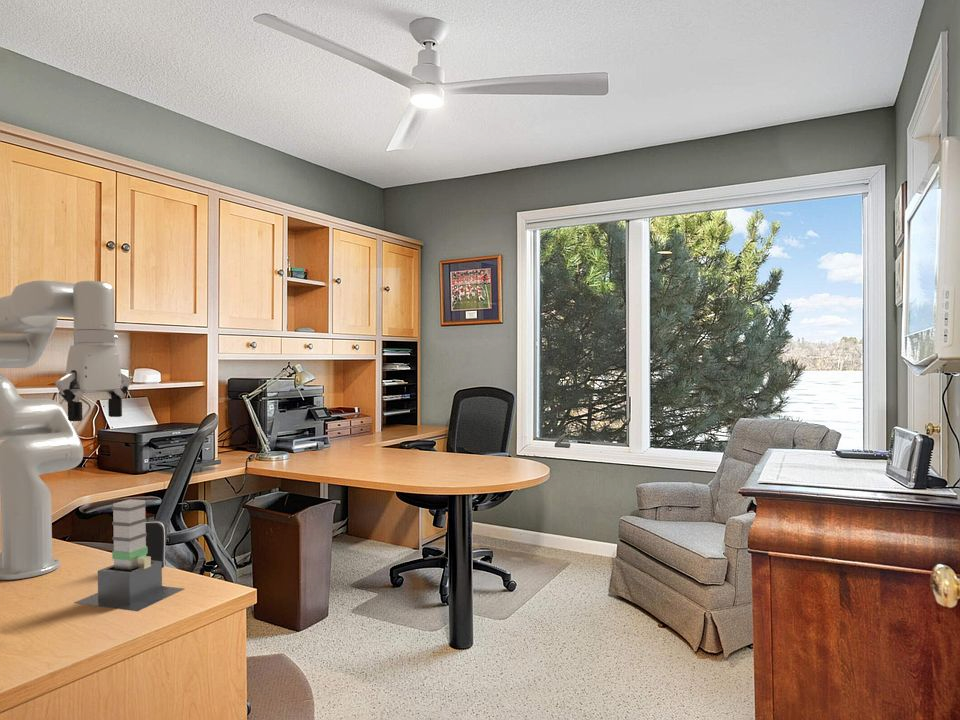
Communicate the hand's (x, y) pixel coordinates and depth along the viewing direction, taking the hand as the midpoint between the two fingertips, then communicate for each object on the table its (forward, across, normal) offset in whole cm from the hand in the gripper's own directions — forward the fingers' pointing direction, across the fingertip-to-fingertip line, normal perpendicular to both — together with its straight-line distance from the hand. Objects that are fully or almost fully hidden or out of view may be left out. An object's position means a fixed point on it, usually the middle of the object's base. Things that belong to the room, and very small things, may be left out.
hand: (95, 418), depth 134 cm
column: (+29, +4, +13) cm, 32 cm away
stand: (+36, +4, +13) cm, 39 cm away
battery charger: (+36, -12, +2) cm, 38 cm away
